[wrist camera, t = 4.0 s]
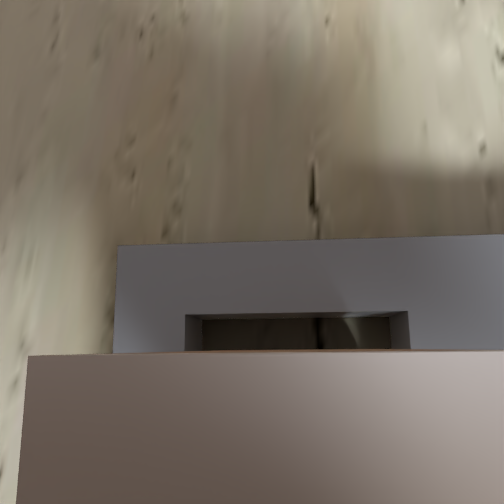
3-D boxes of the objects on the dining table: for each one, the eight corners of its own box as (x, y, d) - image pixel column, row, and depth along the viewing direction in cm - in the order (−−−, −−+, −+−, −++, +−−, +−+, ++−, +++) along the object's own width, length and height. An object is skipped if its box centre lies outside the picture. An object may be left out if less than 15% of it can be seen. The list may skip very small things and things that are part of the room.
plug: (366, 485, 14) (725, 1166, 2) (232, 484, 14) (-31, 1074, 3) (359, 348, 15) (598, 350, 3) (233, 349, 15) (28, 356, 4)
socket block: (713, 611, 13) (828, 683, 10) (132, 592, 14) (93, 651, 11) (647, 247, 15) (728, 224, 12) (144, 261, 16) (113, 243, 13)
